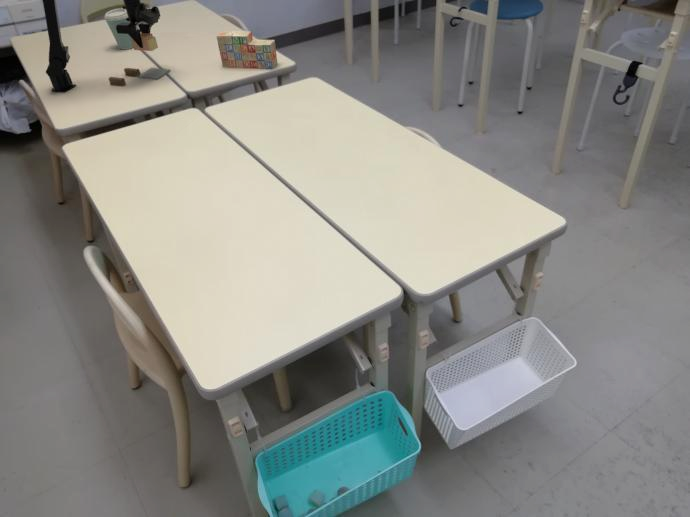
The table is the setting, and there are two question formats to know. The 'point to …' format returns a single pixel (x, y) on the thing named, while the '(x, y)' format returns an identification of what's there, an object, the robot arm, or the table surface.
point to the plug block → (146, 42)
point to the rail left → (117, 81)
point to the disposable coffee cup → (114, 19)
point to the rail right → (132, 72)
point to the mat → (154, 73)
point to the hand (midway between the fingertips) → (145, 45)
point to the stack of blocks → (246, 50)
